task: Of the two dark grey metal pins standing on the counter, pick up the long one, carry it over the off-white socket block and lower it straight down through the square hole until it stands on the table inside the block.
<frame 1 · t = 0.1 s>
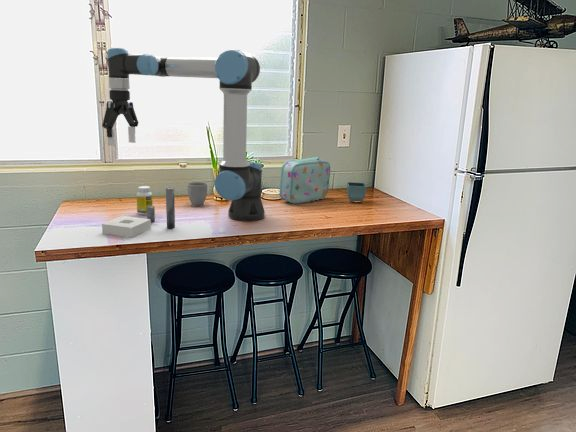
hand: (122, 144, 190), 28 cm above the table, fingers open, 13 cm apart
pill bottle: (145, 213, 195), on the table
long pin: (170, 227, 177), on the table
mug: (196, 204, 214), on the table
socket block: (127, 230, 171), on the table
short pin: (150, 221, 183), on the table
flower pot: (355, 202, 231), on the table
lunch box: (304, 201, 229), on the table
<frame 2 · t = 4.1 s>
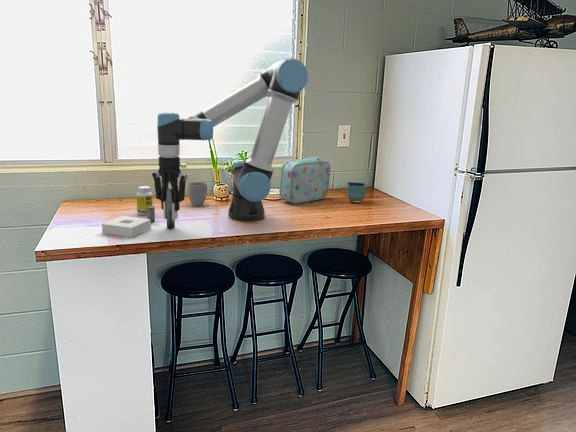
hand: (170, 218, 176), 4 cm above the table, fingers closed on long pin, 3 cm apart
long pin: (170, 227, 177), on the table, touching gripper
everything else where it was.
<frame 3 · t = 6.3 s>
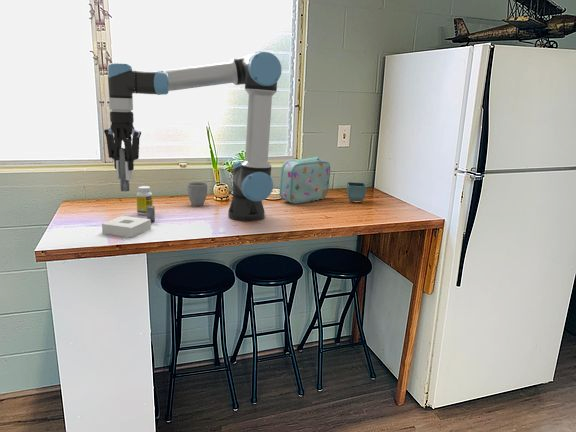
hand: (124, 178, 166), 19 cm above the table, fingers closed on long pin, 3 cm apart
long pin: (125, 190, 167), point 15 cm above the table, touching gripper
everything else where it was.
when the fingers open (6 cm above the table, at t = 8.4 s): long pin drops 1 cm, resting in socket block.
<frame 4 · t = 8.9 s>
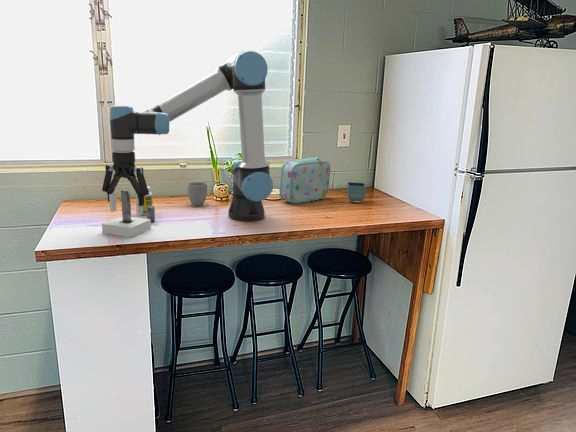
hand: (126, 212, 169), 7 cm above the table, fingers open, 10 cm apart
long pin: (127, 230, 171), resting in socket block
everything else where it was.
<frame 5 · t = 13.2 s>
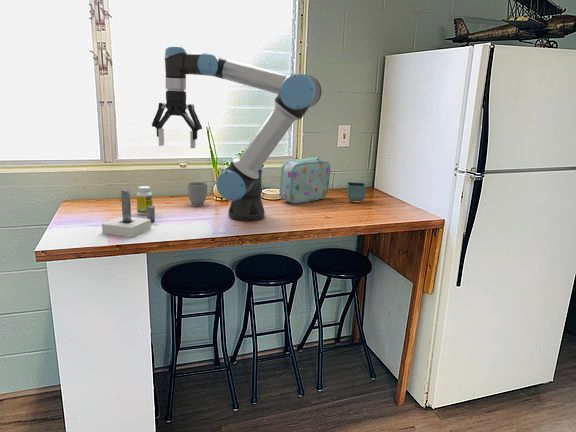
hand: (177, 146, 183), 29 cm above the table, fingers open, 13 cm apart
nothing on the table moved.
at the end: long pin 0.0 cm off-centre on the socket block, point 0.0 cm above the socket block's base; long pin tilted 0°; the gripper is holding nothing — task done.
